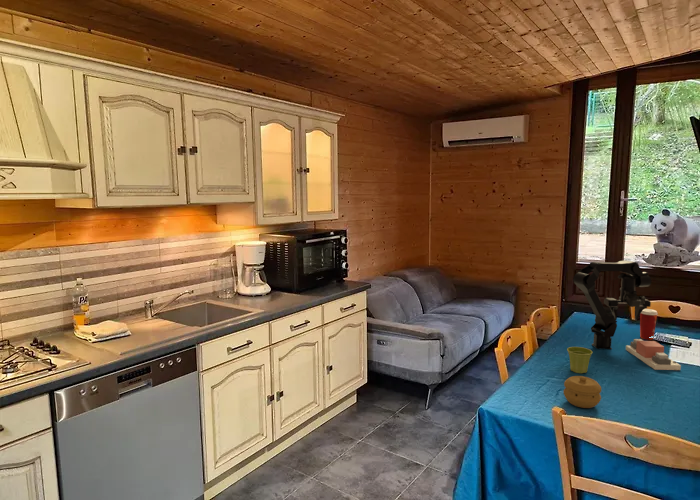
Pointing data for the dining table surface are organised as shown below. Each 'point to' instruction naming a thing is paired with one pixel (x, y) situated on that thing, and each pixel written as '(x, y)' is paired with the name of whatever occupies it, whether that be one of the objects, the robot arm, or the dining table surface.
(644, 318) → the paper cup
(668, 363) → the breaker panel
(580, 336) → the dining table surface
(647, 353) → the terracotta orange block
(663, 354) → the breaker right
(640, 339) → the breaker left
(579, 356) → the plant pot
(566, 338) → the dining table surface
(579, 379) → the pot
